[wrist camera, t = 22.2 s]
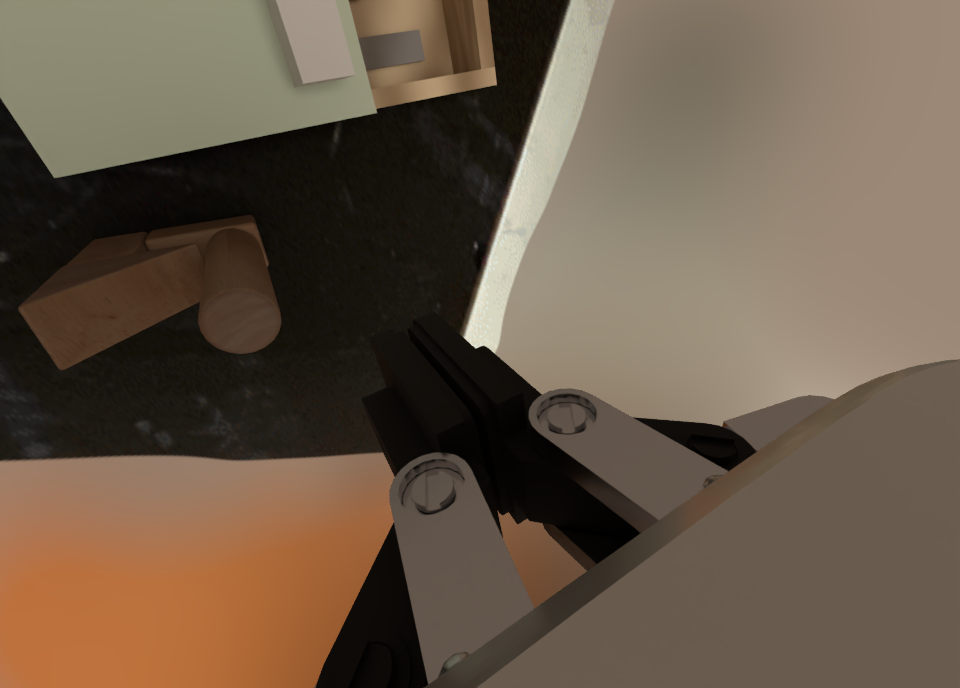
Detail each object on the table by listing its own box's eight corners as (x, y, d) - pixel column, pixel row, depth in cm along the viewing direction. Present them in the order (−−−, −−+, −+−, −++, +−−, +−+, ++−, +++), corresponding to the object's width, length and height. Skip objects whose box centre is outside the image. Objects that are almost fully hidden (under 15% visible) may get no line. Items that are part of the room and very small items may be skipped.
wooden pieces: (90, 238, 30) (-26, 342, 16) (252, 212, 34) (272, 277, 20) (116, 286, 32) (32, 416, 18) (267, 256, 36) (294, 343, 22)
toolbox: (255, 129, 32) (261, 131, 27) (168, -88, 25) (156, -135, 21) (463, 89, 38) (496, 84, 33) (435, -96, 31) (472, -134, 27)
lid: (61, 175, 24) (31, 186, 20) (-152, -146, 17) (-256, -219, 13) (372, 113, 30) (392, 112, 26) (306, -142, 23) (321, -192, 19)
